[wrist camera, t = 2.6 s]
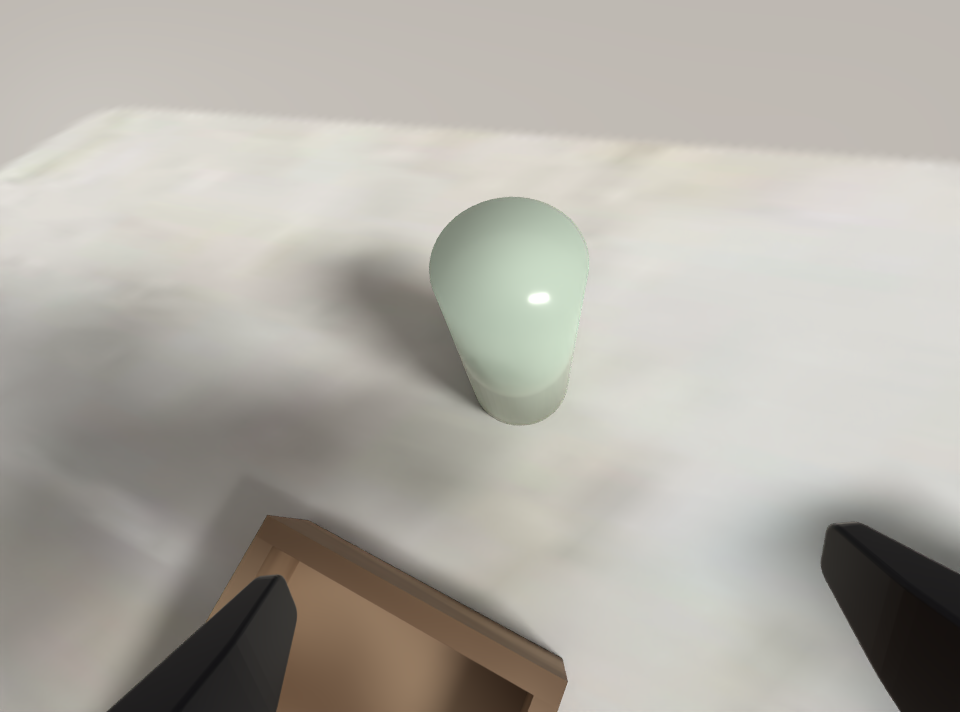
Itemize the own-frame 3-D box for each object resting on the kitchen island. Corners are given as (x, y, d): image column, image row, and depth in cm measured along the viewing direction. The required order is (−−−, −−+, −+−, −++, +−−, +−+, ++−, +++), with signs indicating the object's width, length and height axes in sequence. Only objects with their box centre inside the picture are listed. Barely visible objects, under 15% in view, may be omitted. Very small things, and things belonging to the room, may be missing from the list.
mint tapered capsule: (546, 441, 22) (551, 359, 12) (457, 402, 23) (401, 301, 13) (582, 355, 23) (612, 222, 14) (496, 323, 24) (470, 180, 15)
